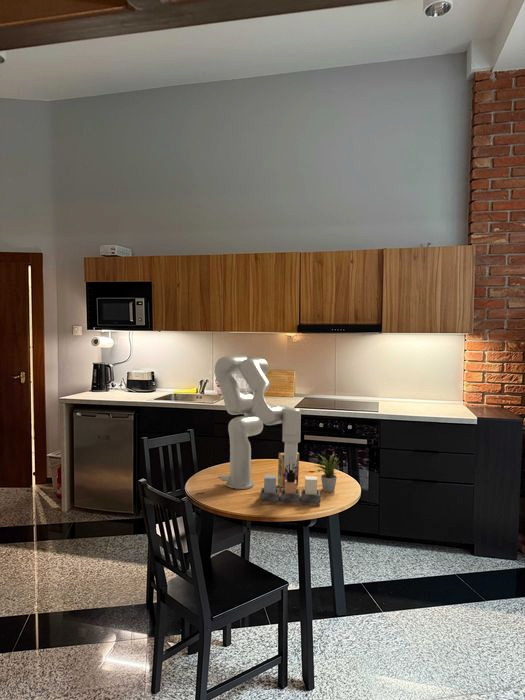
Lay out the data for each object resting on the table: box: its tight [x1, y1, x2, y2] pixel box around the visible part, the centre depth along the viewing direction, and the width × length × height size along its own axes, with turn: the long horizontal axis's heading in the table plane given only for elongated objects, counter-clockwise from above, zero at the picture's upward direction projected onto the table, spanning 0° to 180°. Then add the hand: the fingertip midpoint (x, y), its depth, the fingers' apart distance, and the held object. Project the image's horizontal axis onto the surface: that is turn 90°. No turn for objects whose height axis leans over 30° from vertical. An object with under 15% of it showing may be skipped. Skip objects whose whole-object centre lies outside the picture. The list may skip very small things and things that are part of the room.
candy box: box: [277, 451, 300, 488], centre depth 230 cm, size 9×4×15 cm, turn 115°
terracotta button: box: [284, 480, 297, 494], centre depth 209 cm, size 5×5×7 cm
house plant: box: [313, 453, 343, 493], centre depth 226 cm, size 14×14×16 cm
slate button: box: [263, 474, 277, 493], centre depth 210 cm, size 5×5×7 cm
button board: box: [259, 487, 321, 507], centre depth 209 cm, size 25×10×4 cm, turn 87°
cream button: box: [304, 475, 318, 495], centre depth 209 cm, size 5×5×7 cm
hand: (290, 481), depth 209 cm, fingers closed
